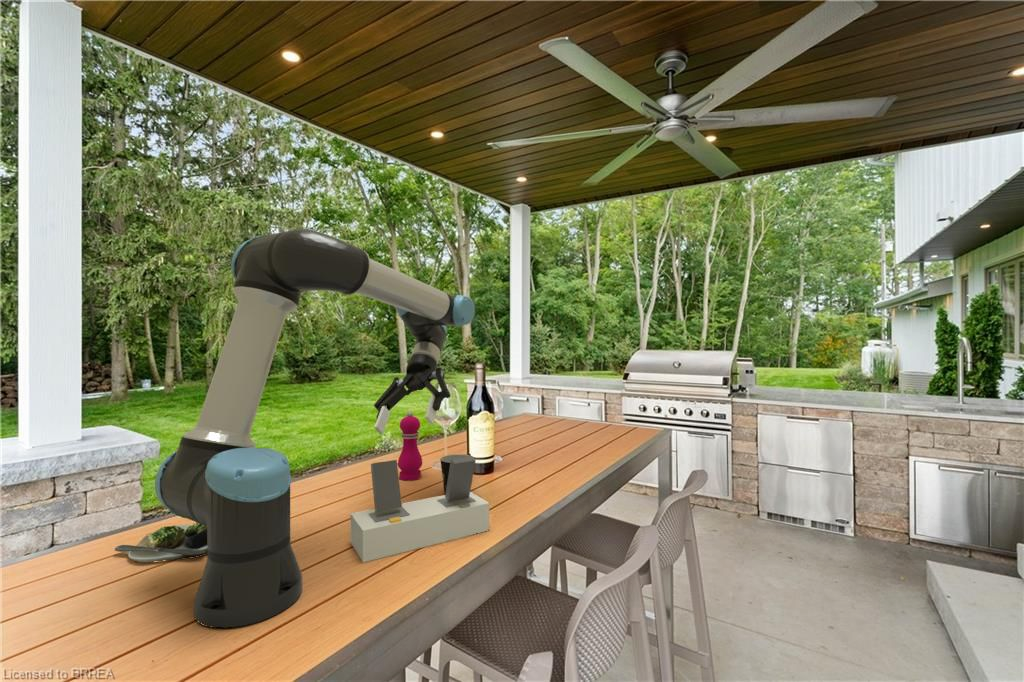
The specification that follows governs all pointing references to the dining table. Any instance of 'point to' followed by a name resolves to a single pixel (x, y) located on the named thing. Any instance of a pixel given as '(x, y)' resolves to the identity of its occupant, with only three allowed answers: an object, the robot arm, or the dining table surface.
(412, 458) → the pepper mill
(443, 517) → the switch box
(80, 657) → the dining table surface
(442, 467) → the coffee mug
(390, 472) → the near switch
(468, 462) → the far switch
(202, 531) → the salad plate
